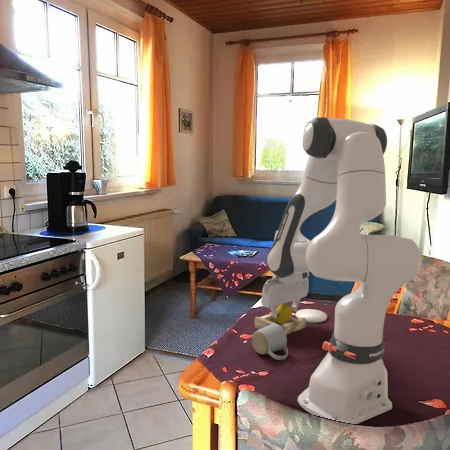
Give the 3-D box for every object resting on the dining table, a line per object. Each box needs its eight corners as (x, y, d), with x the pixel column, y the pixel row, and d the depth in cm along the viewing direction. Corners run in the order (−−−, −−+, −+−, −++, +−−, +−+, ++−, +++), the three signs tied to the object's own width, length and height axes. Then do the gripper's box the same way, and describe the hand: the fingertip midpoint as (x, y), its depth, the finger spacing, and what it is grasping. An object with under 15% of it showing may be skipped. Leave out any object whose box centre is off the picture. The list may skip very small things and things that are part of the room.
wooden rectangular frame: (279, 337, 135) (279, 327, 134) (254, 327, 143) (254, 317, 142) (307, 326, 144) (307, 316, 144) (282, 317, 152) (282, 308, 152)
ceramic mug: (249, 350, 125) (250, 326, 124) (269, 343, 130) (270, 319, 129) (274, 364, 117) (275, 338, 116) (294, 356, 122) (296, 331, 121)
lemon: (292, 329, 142) (293, 306, 140) (276, 329, 142) (276, 306, 140) (290, 323, 147) (291, 300, 146) (274, 322, 147) (275, 300, 146)
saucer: (314, 325, 145) (314, 322, 145) (289, 316, 153) (289, 313, 153) (333, 317, 152) (333, 315, 152) (308, 309, 160) (308, 307, 160)
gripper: (271, 282, 133) (270, 324, 135) (312, 271, 146) (310, 309, 148) (257, 278, 138) (256, 318, 140) (298, 267, 151) (296, 304, 153)
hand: (284, 314), depth 144 cm, fingers open, 8 cm apart
